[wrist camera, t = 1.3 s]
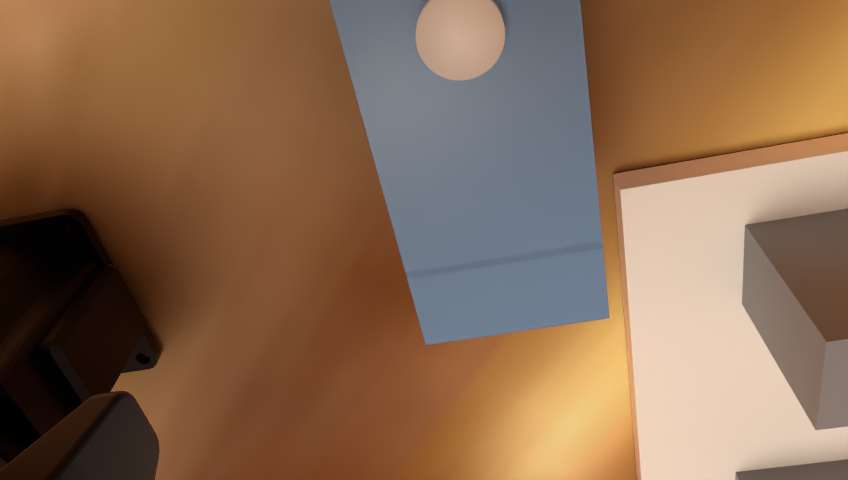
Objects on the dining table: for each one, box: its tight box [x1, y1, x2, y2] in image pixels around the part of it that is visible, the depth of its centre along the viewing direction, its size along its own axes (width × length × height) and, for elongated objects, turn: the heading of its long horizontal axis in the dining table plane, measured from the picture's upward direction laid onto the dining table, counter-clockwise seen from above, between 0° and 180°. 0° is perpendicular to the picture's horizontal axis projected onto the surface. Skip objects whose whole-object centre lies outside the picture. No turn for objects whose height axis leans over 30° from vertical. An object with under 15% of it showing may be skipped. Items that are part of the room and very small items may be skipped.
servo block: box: [329, 0, 609, 345], centre depth 16 cm, size 4×11×6 cm, turn 12°
